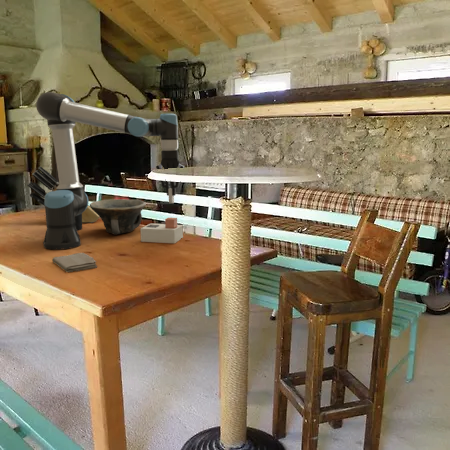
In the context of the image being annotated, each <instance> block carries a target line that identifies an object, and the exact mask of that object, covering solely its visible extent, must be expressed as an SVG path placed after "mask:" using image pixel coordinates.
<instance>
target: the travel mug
mask: <svg viewBox="0 0 450 450" xmlns="http://www.w3.org/2000/svg"><path fill="white" fill-rule="evenodd" d="M75 227H76V230H77V232H78V231H82V230H83V222H82V214H80V215H77V216H75Z"/></svg>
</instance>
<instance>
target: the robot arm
mask: <svg viewBox="0 0 450 450" xmlns="http://www.w3.org/2000/svg"><path fill="white" fill-rule="evenodd" d="M35 107H36V110H37V113H38V114H39V115H40V117H41V118H43V119H45V120H46V121H47V127H48V128H49V129H51V132H52V138H53V145H54V146H53V147H54V154H55V162H56V167H57V174H58V175H57V176H58V182H59V186H58V187H57V186H56V187H57V188H56V189H57V190H56V191H51V190H50V192H46V193H47V194H46V195H45V198H44V199H45V201H44V204H45V206H44V210H45V220H46V221H45V222H46V231H45V234H44V239H43V248H44V249H47V250H67V249H73V248H78V247H79V246H81V245H82V241H81V238H80V234H79V232H78V231H77V230H76V227H75V216H77V215H80V214H82V213H83V212H84V211H85V210H86V208H87V207H88V205H89V197H88V195H87V193H86V192H85V190H84V189H85V188H84V185H83V184H82V183H81V182H80V176H79V169H78V163H77V162H78V161H77V155H76V154H77V153H76V145H75V138H74V131H73V129H74V128H75V126H76V123H79V124H84V125H89V126H91V127H97V128H101V129H106V130H110V131H115V132H119V133H123V134H128V135H131V136H134V137H137V138H138V137H140V138H141V137H160V148H161V151H160V152H161V153H160V154H161V155H160V156H161V157H160V158H161V161H160V164H157V165H156V166H155V168H156V170H157V169H162V170H165V169H168V168H177V169H178V168H184V169H185V168H186V167H185V165H182V164H181V163H180V161H179V160H180V158H179V150H178V149H179V125H178V124H179V123H178V116H177V114H175V113H161V114H159V118H145V117H139V116H135V115H131V114H128V113H122V112H118V111H113V110H108V109H105V108H100V107H96V106H93V105H92V106H91V105H87V104H83V103H79V102H75V101H74V99H73V98H71V97H70V96H69V95H66V94H63V93H57V92H52V91H47V92H44V93H42V94H40V95H39V96H38V98H37V99H36V103H35ZM160 183H161V186H162V188H165V190H166V196H167V197H168V204H174V203H175V197H174V196H176V195H177V194H176V193H177V192H176V189H177V188H179V187H180V185H181V181H180V182H171V181H170V182H167V181H166V180H165V181H161V180H160Z"/></svg>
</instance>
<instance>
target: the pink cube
mask: <svg viewBox="0 0 450 450" xmlns="http://www.w3.org/2000/svg"><path fill="white" fill-rule="evenodd" d="M164 222H165V223H164V224H165V228H174V229H175V228H177V225H178V217H167V218H165V221H164Z"/></svg>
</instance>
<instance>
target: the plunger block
mask: <svg viewBox="0 0 450 450" xmlns="http://www.w3.org/2000/svg"><path fill="white" fill-rule="evenodd" d="M150 224H152V225H159V226H158V227H156V228H154V227H147V226H148V225H150ZM181 238H182V239H183V238H184V225H183V224H177V228H175V229H174V228H165V223H148V224H147V225H144V226H143V227H141V228H140V242H142V243H163V244H176V243H177V242H179V241H180V240H182V239H181Z"/></svg>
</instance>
